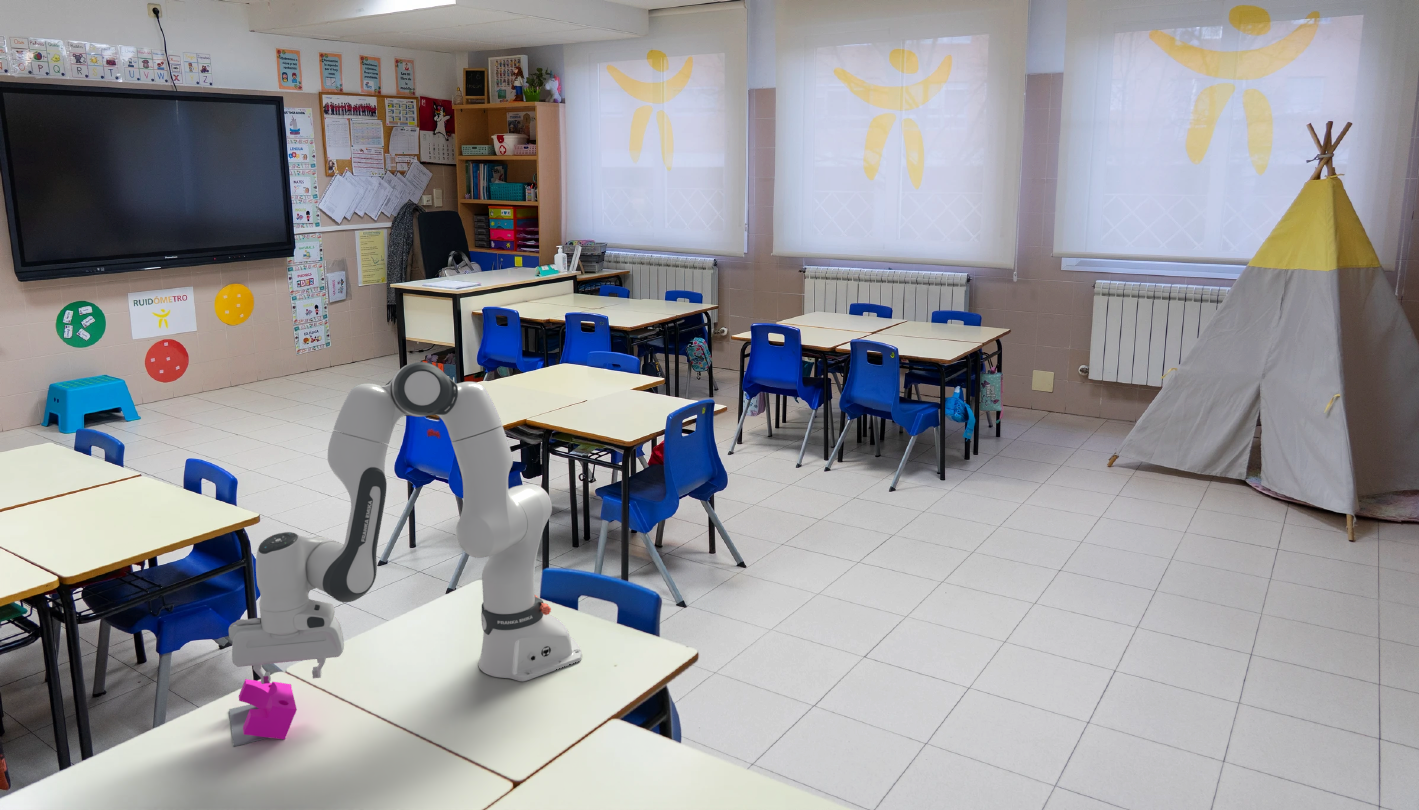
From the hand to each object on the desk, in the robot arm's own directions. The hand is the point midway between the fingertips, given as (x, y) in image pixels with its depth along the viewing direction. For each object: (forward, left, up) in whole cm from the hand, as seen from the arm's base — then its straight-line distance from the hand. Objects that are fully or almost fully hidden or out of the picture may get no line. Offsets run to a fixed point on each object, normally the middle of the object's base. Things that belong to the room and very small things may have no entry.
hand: (291, 679), depth 193 cm
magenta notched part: (+1, +2, -5) cm, 5 cm away
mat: (+8, 0, -7) cm, 10 cm away
